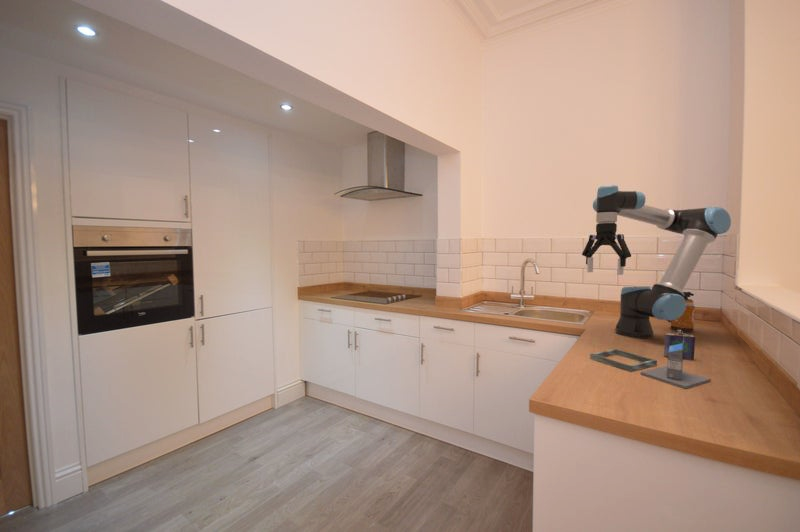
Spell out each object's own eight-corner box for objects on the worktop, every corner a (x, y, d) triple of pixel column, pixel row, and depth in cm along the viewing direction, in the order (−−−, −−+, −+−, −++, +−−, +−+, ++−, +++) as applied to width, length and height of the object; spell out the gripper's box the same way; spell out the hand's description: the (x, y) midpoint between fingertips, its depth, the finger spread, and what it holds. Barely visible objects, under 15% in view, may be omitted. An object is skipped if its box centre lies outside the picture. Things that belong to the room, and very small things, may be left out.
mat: (665, 368, 123) (665, 365, 123) (710, 381, 111) (710, 378, 111) (640, 374, 117) (640, 371, 117) (685, 388, 105) (685, 386, 105)
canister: (694, 334, 169) (696, 292, 168) (665, 330, 176) (667, 291, 175) (693, 330, 176) (695, 290, 175) (665, 327, 183) (667, 289, 182)
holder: (615, 353, 139) (616, 348, 139) (656, 365, 126) (657, 360, 126) (590, 358, 133) (590, 353, 133) (630, 371, 120) (630, 366, 119)
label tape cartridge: (667, 369, 119) (669, 333, 118) (682, 372, 116) (684, 335, 116) (666, 377, 112) (668, 339, 111) (682, 380, 110) (684, 341, 109)
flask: (664, 357, 135) (666, 329, 134) (662, 355, 137) (664, 328, 137) (695, 360, 131) (696, 332, 130) (692, 358, 134) (694, 330, 133)
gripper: (642, 221, 139) (640, 275, 140) (585, 224, 161) (584, 271, 163) (630, 221, 136) (628, 276, 137) (574, 224, 158) (572, 271, 159)
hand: (604, 273), depth 150 cm, fingers open, 13 cm apart
